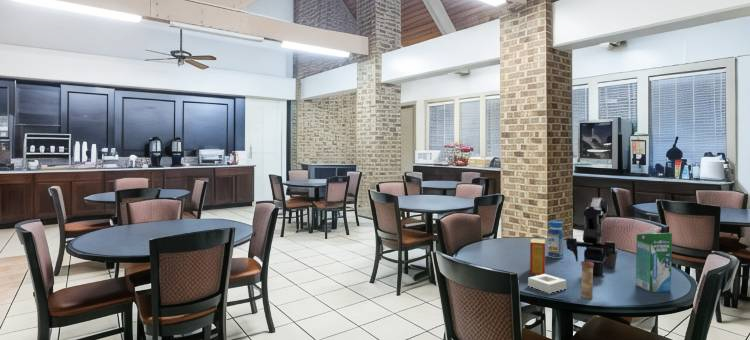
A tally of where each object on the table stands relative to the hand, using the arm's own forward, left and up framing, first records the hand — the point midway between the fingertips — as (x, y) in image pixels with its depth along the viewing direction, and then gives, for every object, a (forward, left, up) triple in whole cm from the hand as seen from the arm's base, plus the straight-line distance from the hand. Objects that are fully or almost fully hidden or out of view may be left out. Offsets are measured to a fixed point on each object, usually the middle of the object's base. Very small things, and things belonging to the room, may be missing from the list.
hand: (589, 262), depth 171 cm
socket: (+15, -5, -13) cm, 21 cm away
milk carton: (-30, -5, -13) cm, 33 cm away
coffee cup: (-28, -37, -13) cm, 48 cm away
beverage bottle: (-9, -57, -13) cm, 59 cm away
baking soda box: (+11, -28, -13) cm, 33 cm away
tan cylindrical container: (+3, +6, -13) cm, 14 cm away
